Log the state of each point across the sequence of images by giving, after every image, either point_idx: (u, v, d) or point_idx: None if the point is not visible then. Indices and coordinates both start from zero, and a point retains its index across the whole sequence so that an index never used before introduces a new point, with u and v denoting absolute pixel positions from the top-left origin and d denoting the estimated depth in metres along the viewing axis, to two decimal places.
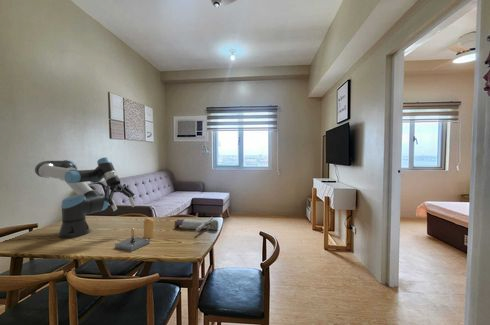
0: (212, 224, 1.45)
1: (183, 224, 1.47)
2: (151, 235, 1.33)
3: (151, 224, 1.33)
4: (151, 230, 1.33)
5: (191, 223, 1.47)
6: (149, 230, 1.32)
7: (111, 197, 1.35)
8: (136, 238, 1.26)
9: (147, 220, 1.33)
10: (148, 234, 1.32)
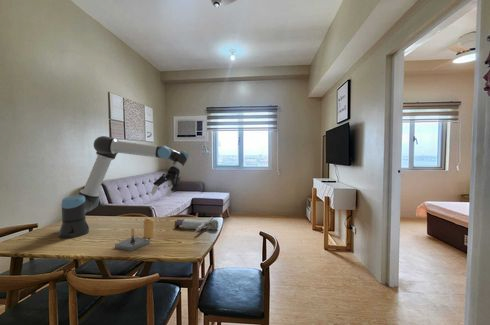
0: (212, 224, 1.45)
1: (183, 224, 1.47)
2: (151, 235, 1.33)
3: (151, 224, 1.33)
4: (151, 230, 1.33)
5: (191, 223, 1.47)
6: (149, 230, 1.32)
7: None
8: (136, 238, 1.26)
9: (147, 220, 1.33)
10: (148, 234, 1.32)
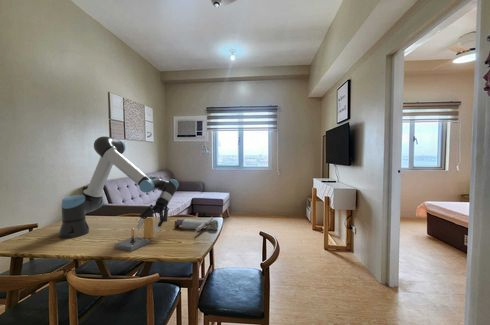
0: (212, 224, 1.44)
1: (183, 224, 1.47)
2: (151, 235, 1.33)
3: (151, 224, 1.33)
4: (151, 230, 1.33)
5: (191, 223, 1.47)
6: (149, 230, 1.32)
7: None
8: (136, 238, 1.26)
9: (147, 220, 1.33)
10: (148, 234, 1.32)
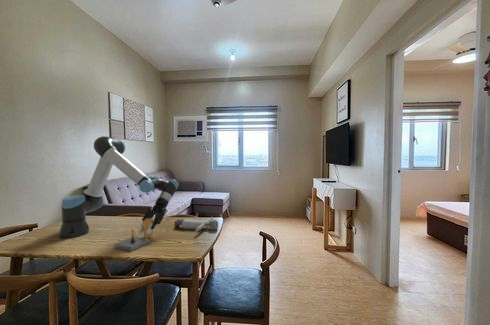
0: (212, 224, 1.44)
1: (183, 224, 1.47)
2: (151, 235, 1.33)
3: None
4: None
5: (191, 223, 1.47)
6: None
7: None
8: (136, 238, 1.26)
9: (147, 220, 1.33)
10: None
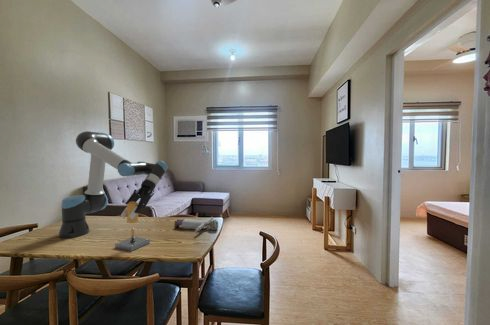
0: (212, 224, 1.44)
1: (183, 224, 1.47)
2: (135, 220, 1.20)
3: None
4: None
5: (191, 223, 1.47)
6: None
7: None
8: (136, 238, 1.26)
9: (131, 203, 1.20)
10: None
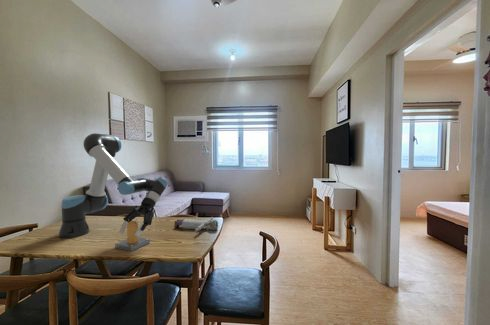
0: (212, 224, 1.44)
1: (183, 224, 1.47)
2: (135, 240, 1.21)
3: (135, 228, 1.20)
4: None
5: (191, 223, 1.47)
6: (133, 234, 1.20)
7: None
8: None
9: (131, 223, 1.20)
10: (132, 239, 1.19)
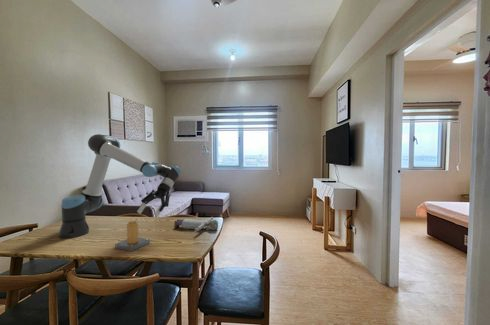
0: (212, 224, 1.44)
1: (183, 224, 1.47)
2: (135, 240, 1.21)
3: (135, 228, 1.20)
4: (135, 234, 1.20)
5: (191, 223, 1.47)
6: (133, 234, 1.20)
7: None
8: None
9: (131, 223, 1.20)
10: (132, 239, 1.19)
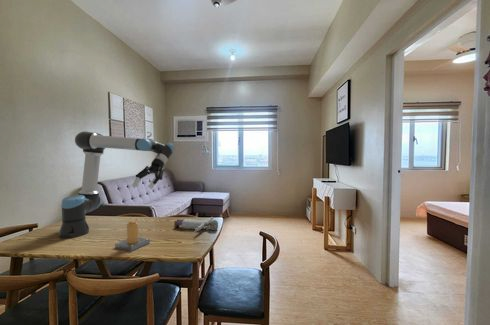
0: (212, 224, 1.44)
1: (183, 224, 1.47)
2: (135, 240, 1.21)
3: (135, 228, 1.20)
4: (135, 234, 1.20)
5: (191, 223, 1.47)
6: (133, 234, 1.20)
7: None
8: None
9: (131, 223, 1.20)
10: (132, 239, 1.19)
